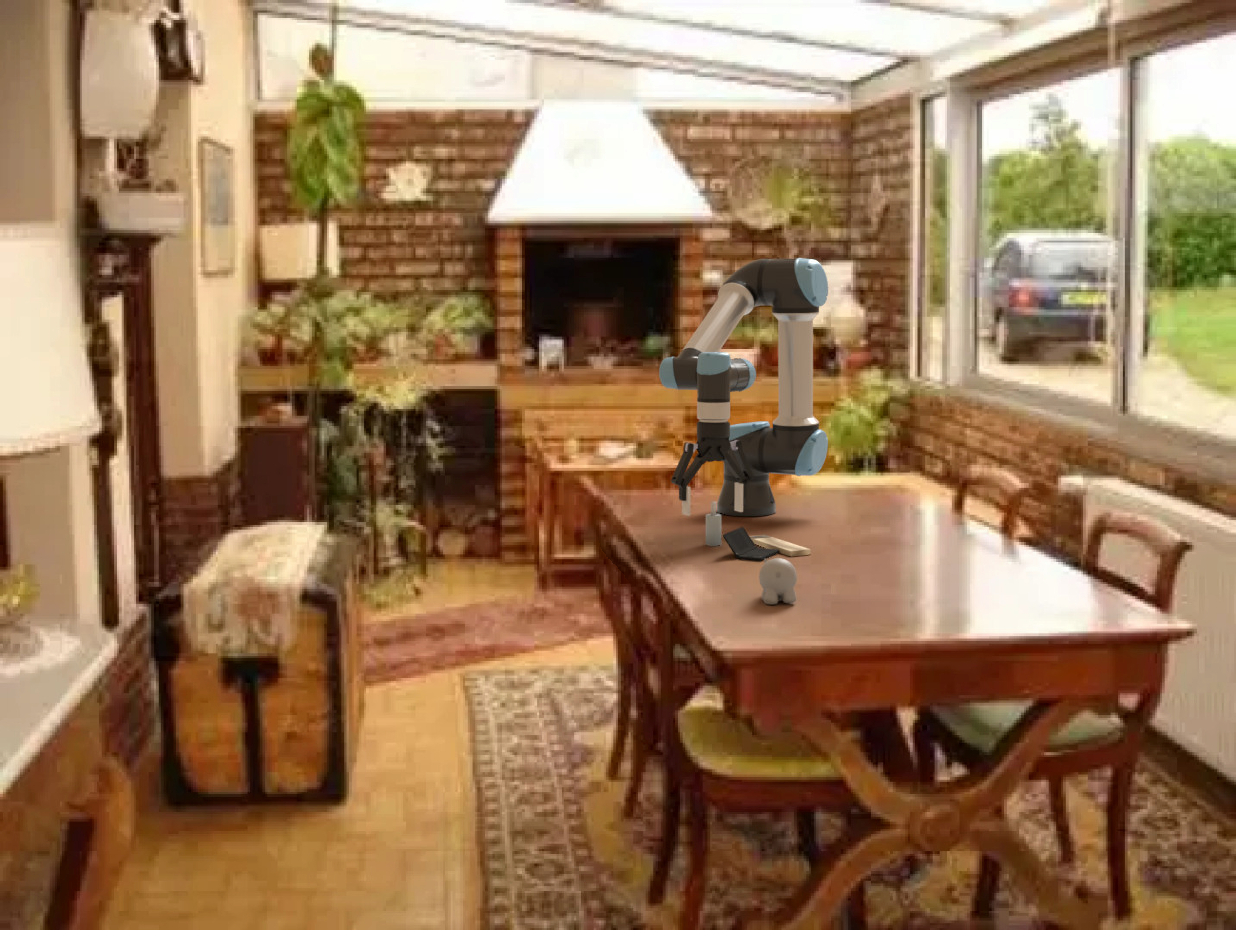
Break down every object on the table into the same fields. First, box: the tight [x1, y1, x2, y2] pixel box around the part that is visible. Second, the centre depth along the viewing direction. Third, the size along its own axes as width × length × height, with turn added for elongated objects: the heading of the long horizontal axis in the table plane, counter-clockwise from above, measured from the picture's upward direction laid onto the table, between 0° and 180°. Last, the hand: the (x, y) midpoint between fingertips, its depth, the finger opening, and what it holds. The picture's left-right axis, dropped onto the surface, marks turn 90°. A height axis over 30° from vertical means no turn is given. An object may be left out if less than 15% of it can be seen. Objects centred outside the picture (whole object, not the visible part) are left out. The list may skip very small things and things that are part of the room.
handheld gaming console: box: [722, 526, 780, 563], centre depth 340 cm, size 12×7×10 cm
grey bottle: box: [705, 501, 722, 547], centre depth 352 cm, size 4×4×10 cm
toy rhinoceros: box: [758, 557, 798, 606], centre depth 296 cm, size 7×12×8 cm, turn 3°
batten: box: [749, 534, 811, 558], centre depth 348 cm, size 5×20×1 cm, turn 25°
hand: (712, 513), depth 352 cm, fingers open, 13 cm apart
